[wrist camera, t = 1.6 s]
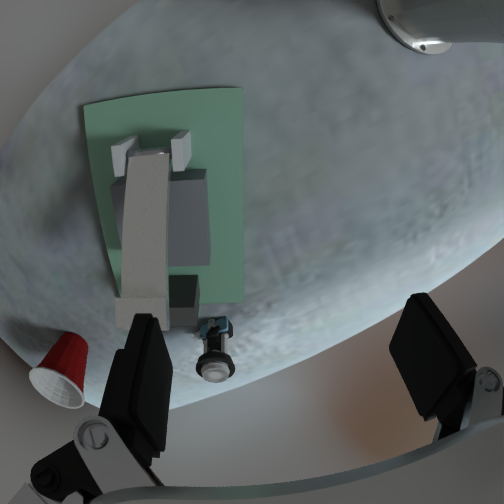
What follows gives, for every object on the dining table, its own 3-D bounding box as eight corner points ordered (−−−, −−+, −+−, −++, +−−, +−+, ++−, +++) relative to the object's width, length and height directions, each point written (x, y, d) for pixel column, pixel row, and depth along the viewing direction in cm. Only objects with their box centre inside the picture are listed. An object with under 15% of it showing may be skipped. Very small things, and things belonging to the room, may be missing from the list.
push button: (202, 341, 47) (200, 391, 39) (185, 321, 45) (179, 372, 36) (238, 329, 46) (241, 380, 38) (223, 307, 44) (223, 359, 35)
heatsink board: (88, 104, 27) (54, 111, 20) (242, 87, 28) (246, 86, 22) (125, 297, 42) (111, 335, 35) (243, 295, 43) (247, 335, 36)
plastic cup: (101, 332, 45) (81, 387, 35) (100, 366, 50) (86, 415, 40) (48, 313, 42) (22, 362, 32) (53, 348, 47) (34, 394, 37)
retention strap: (131, 154, 26) (124, 143, 24) (174, 150, 27) (170, 138, 24) (125, 328, 24) (116, 330, 21) (172, 329, 24) (167, 332, 22)
